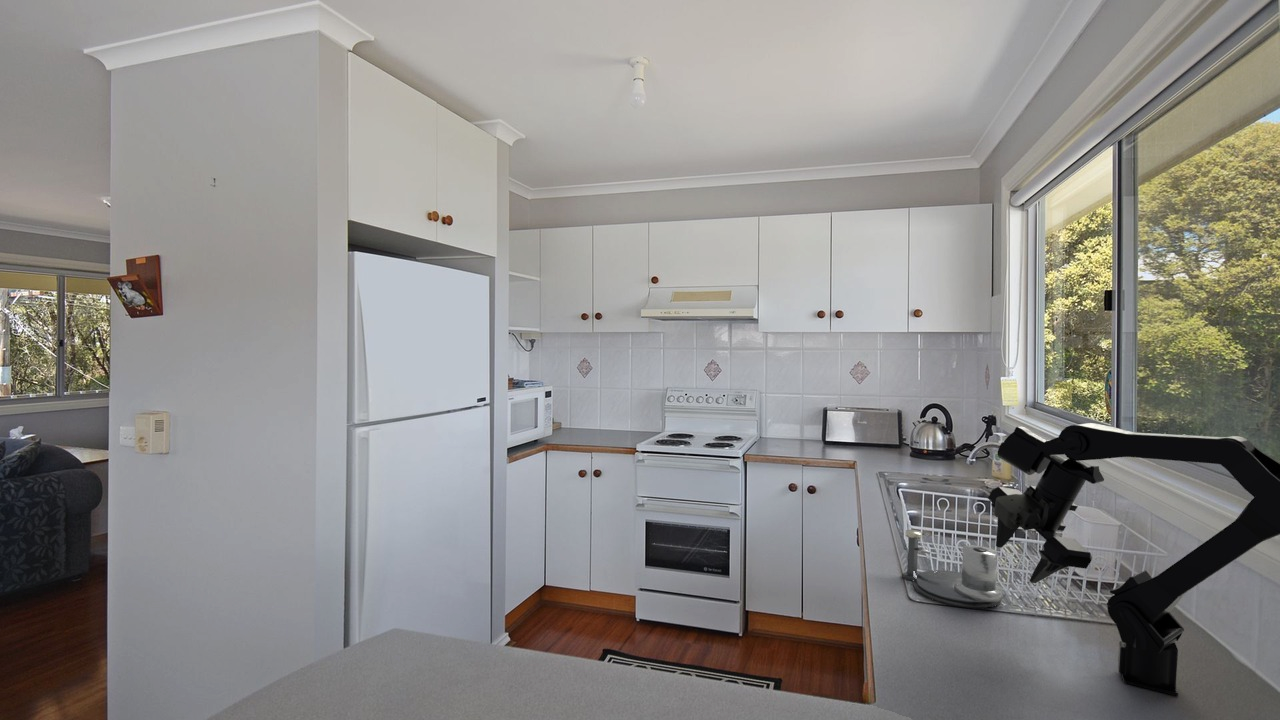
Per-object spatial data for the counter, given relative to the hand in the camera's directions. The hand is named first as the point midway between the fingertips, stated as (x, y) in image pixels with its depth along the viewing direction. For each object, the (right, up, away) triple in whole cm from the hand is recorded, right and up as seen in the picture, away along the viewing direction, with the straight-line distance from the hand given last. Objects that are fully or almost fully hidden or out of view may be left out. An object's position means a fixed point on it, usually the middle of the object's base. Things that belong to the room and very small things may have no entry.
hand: (1015, 564), depth 117 cm
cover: (0, -9, +12) cm, 15 cm away
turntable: (-2, -11, +17) cm, 21 cm away
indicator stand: (-8, -11, +24) cm, 27 cm away
